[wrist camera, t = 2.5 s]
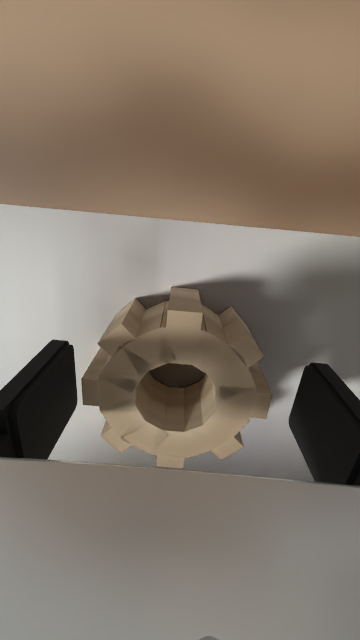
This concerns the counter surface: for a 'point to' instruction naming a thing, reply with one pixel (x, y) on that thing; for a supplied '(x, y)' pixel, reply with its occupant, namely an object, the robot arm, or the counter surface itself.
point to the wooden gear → (172, 402)
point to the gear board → (184, 110)
